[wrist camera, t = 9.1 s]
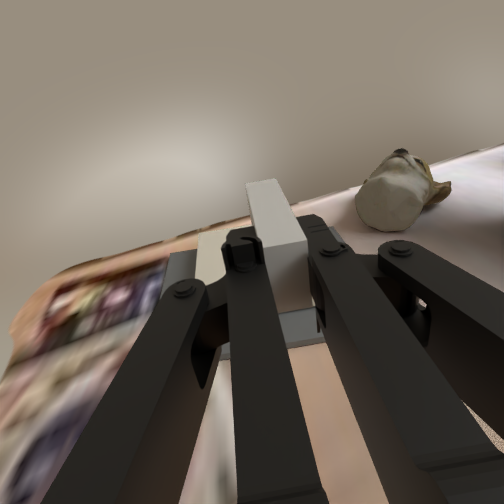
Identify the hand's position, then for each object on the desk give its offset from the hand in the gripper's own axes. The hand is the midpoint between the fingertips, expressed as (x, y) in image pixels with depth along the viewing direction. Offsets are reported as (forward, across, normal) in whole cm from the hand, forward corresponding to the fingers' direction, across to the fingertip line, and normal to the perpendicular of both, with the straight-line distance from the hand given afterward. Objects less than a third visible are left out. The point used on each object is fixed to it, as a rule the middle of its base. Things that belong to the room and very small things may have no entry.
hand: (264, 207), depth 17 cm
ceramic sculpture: (+23, +18, -14) cm, 32 cm away
